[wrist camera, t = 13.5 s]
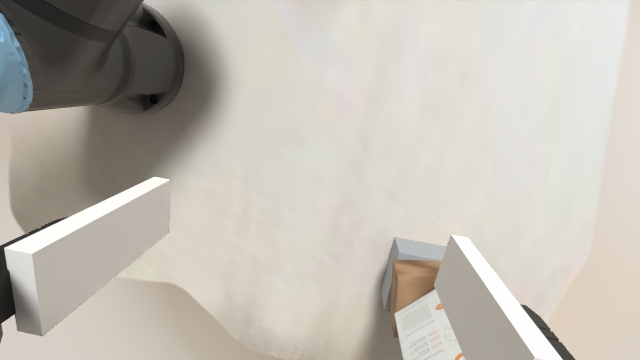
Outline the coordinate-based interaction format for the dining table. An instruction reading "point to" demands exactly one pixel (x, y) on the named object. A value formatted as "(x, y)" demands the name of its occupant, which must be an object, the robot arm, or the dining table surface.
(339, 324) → the dining table surface
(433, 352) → the small box
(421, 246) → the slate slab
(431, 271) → the brown wooden block
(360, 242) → the dining table surface
